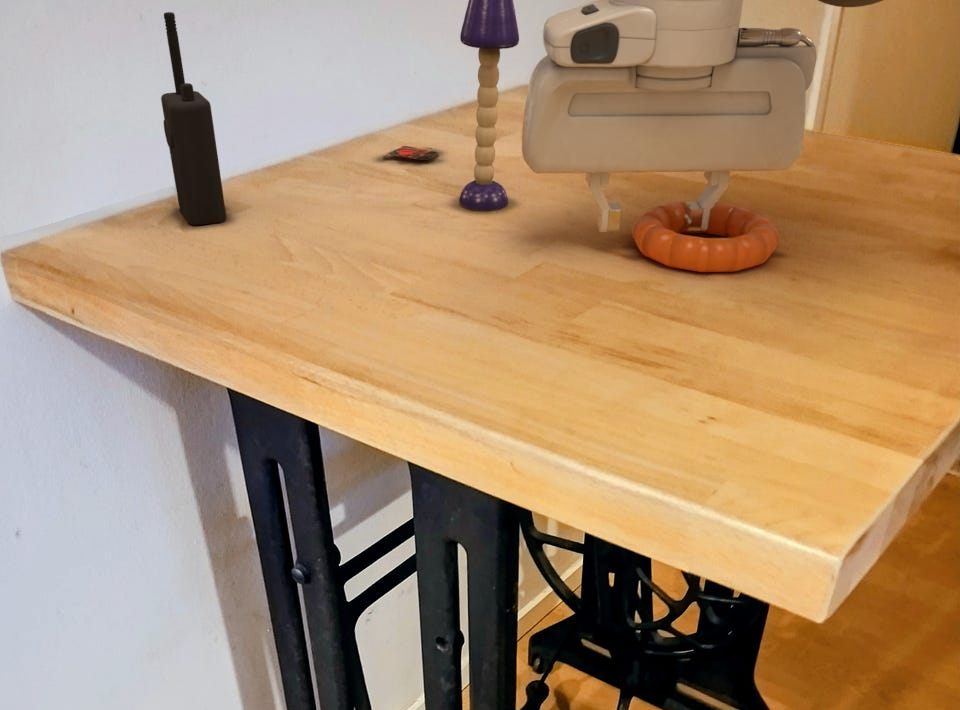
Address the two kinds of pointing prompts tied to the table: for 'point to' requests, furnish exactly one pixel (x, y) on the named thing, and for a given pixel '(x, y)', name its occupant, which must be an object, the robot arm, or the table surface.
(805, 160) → the table surface
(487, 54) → the toy lamp
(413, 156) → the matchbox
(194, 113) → the walkie-talkie
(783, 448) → the table surface
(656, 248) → the ring
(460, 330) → the table surface
